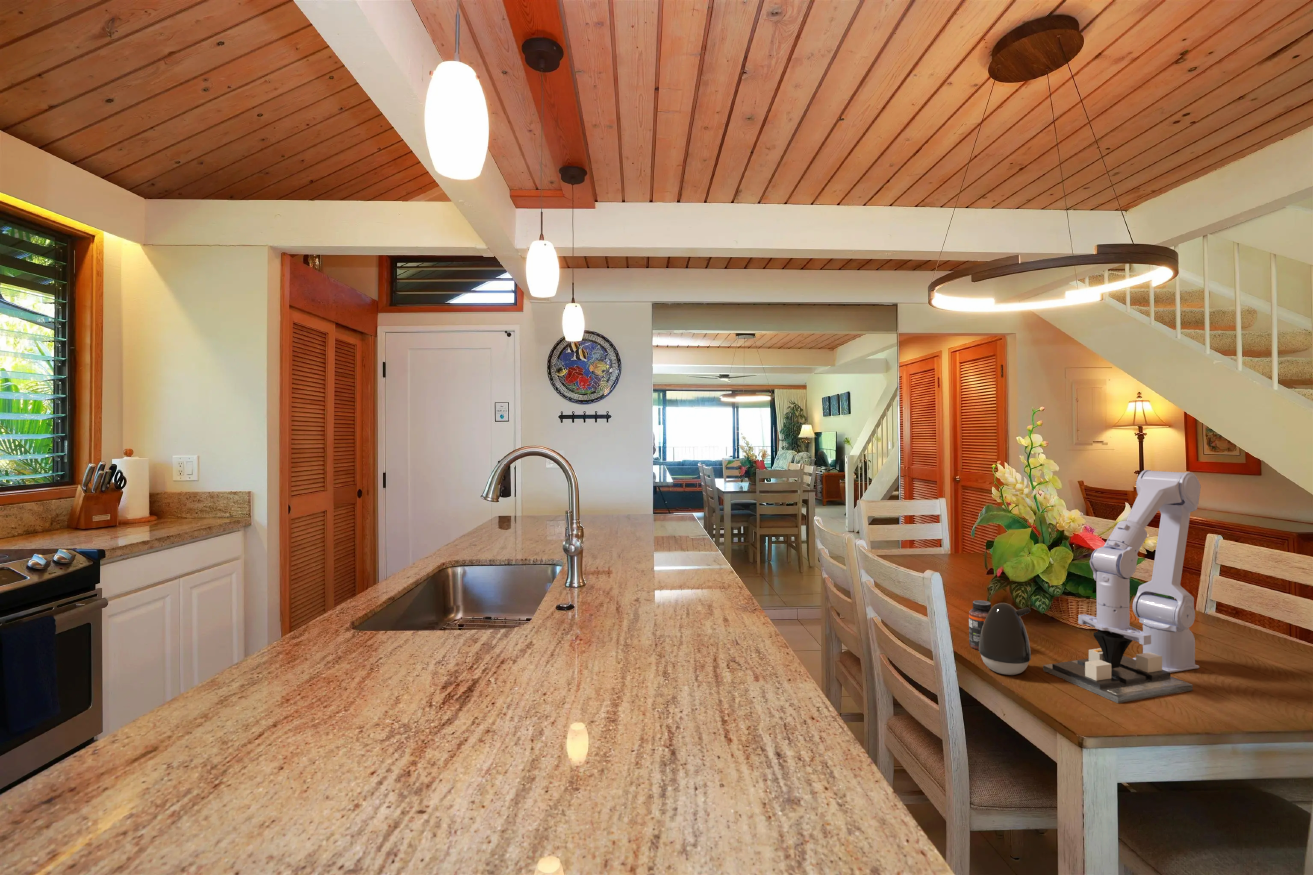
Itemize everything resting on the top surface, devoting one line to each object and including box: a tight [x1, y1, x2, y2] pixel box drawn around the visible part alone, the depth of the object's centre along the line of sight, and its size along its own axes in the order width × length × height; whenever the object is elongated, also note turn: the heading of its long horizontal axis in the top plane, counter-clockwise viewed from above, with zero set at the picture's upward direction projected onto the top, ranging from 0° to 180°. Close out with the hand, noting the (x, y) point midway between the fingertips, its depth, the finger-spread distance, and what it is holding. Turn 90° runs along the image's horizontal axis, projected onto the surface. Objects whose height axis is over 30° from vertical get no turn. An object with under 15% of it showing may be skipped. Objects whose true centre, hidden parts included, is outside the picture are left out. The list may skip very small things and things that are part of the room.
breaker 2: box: [1135, 652, 1162, 673], centre depth 132 cm, size 4×2×3 cm, turn 105°
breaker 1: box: [1085, 660, 1111, 681], centre depth 129 cm, size 4×2×3 cm, turn 105°
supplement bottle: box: [968, 599, 992, 651], centre depth 152 cm, size 6×6×11 cm
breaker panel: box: [1042, 655, 1194, 704], centre depth 132 cm, size 20×17×2 cm
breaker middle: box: [1088, 647, 1105, 661], centre depth 135 cm, size 4×2×3 cm, turn 105°
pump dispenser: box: [978, 602, 1032, 676], centre depth 138 cm, size 10×10×15 cm
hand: (1112, 666), depth 133 cm, fingers closed
